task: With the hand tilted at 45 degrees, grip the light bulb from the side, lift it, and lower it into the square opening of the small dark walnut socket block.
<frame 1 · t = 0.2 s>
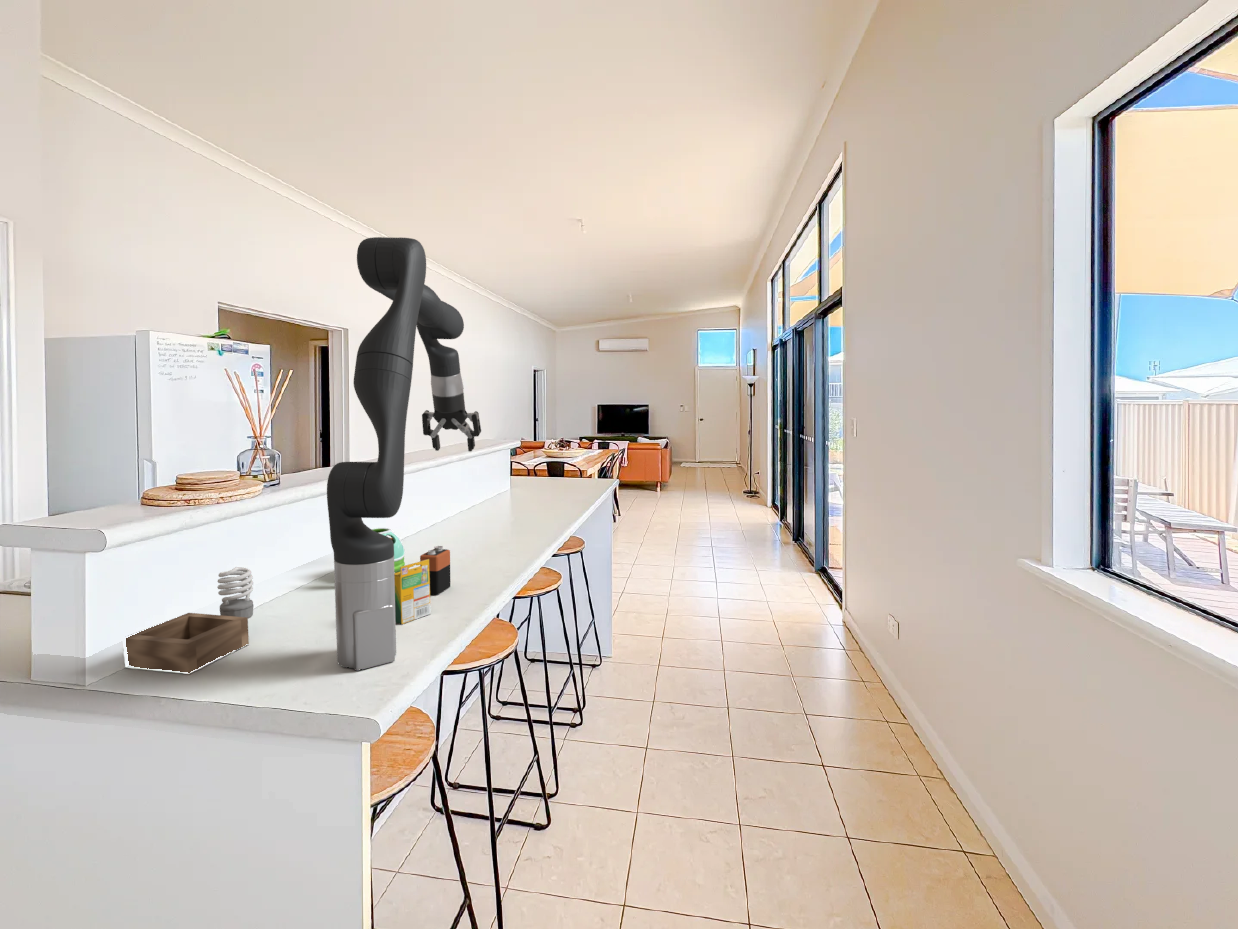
hand: (454, 449, 153), 31 cm above the countertop, tool tilted 20°, fingers open, 8 cm apart
socket block: (189, 656, 100), on the countertop
light bulb: (237, 631, 111), on the countertop
battery: (435, 591, 137), on the countertop
turtle holder: (374, 580, 145), on the countertop
crayon box: (411, 619, 119), on the countertop
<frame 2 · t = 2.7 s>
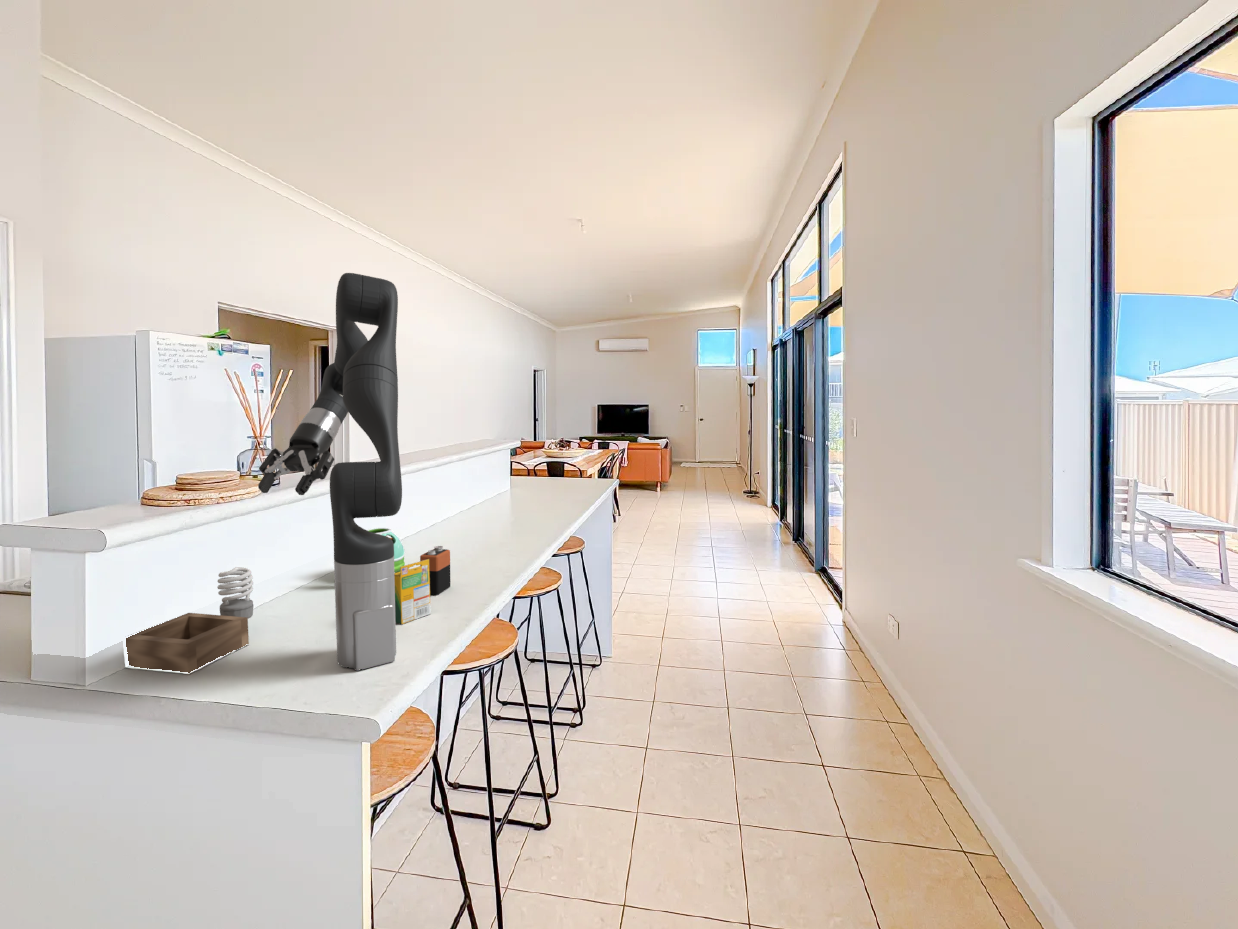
hand: (280, 491, 121), 25 cm above the countertop, tool tilted 45°, fingers open, 8 cm apart
nothing on the countertop moved.
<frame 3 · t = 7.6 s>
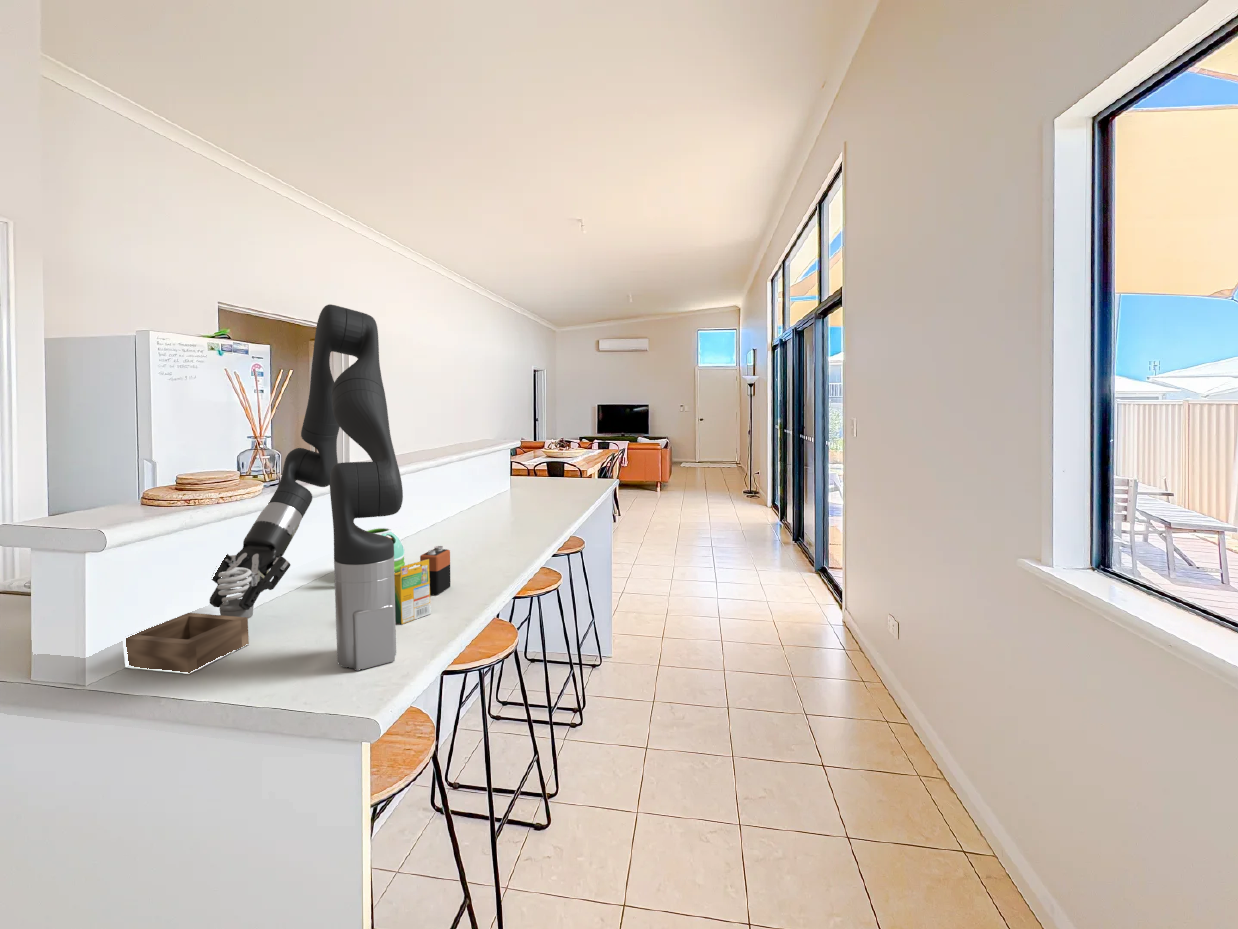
hand: (228, 606, 109), 5 cm above the countertop, tool tilted 45°, fingers closed on light bulb, 5 cm apart
light bulb: (237, 631, 111), on the countertop, touching gripper
everything else where it was.
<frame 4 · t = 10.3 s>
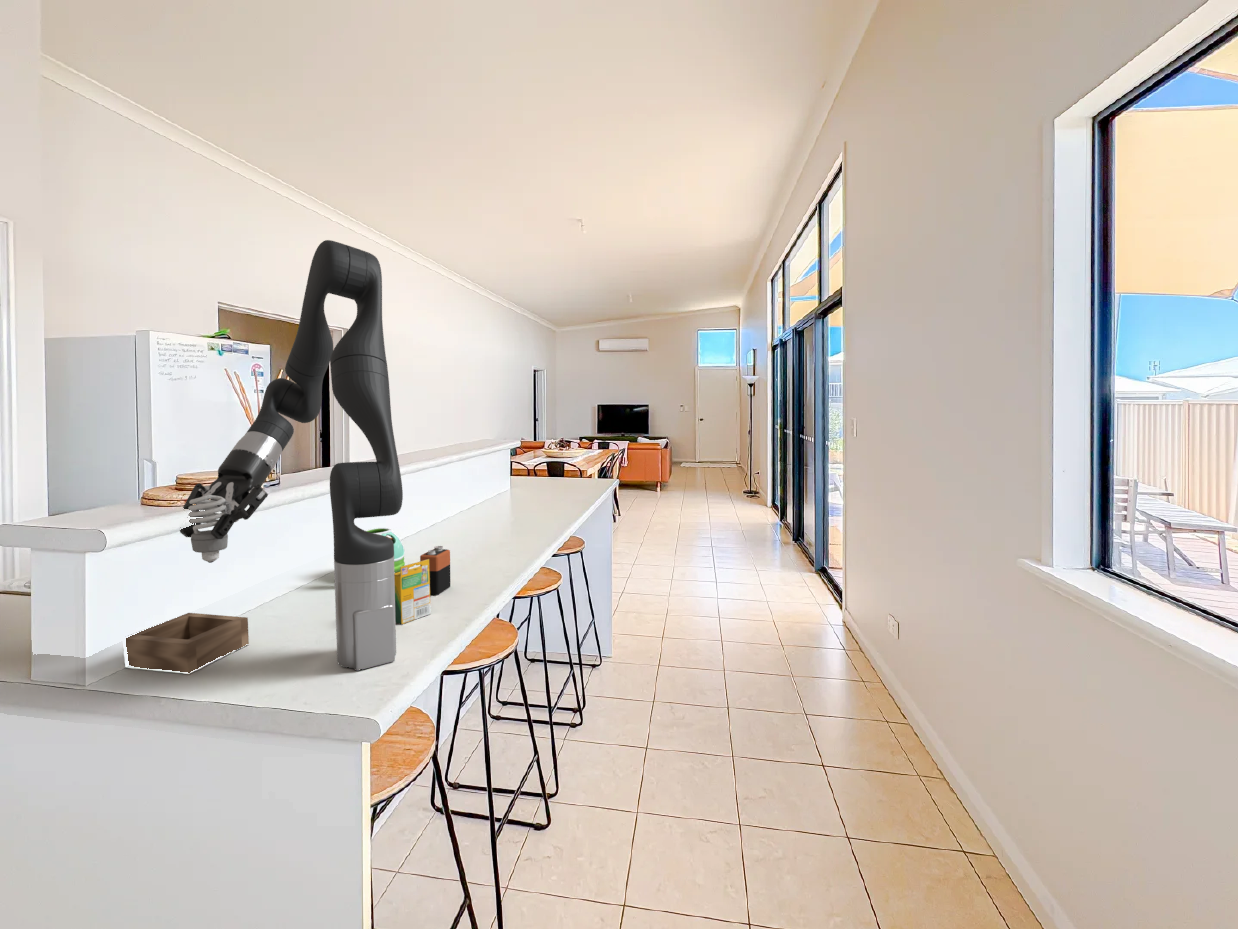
hand: (200, 535, 102), 20 cm above the countertop, tool tilted 45°, fingers closed on light bulb, 5 cm apart
light bulb: (211, 563, 104), point 14 cm above the countertop, touching gripper
everything else where it was.
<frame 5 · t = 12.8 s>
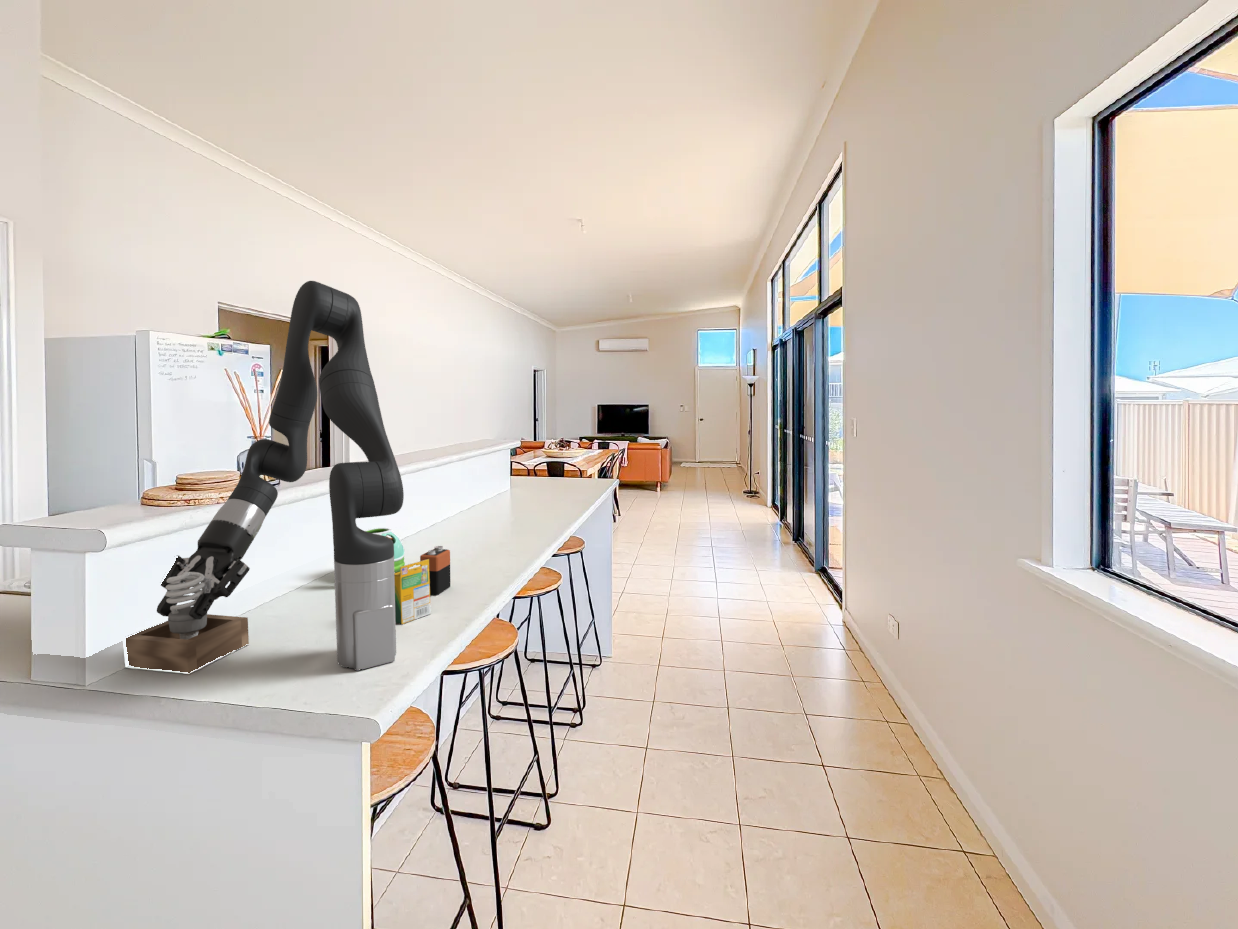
hand: (178, 615, 98), 8 cm above the countertop, tool tilted 45°, fingers closed on light bulb, 5 cm apart
light bulb: (189, 643, 100), point 2 cm above the countertop, touching gripper
everything else where it was.
when the fingers open (7 cm above the countertop, at t = 13.5 s): light bulb drops 1 cm, resting in socket block.
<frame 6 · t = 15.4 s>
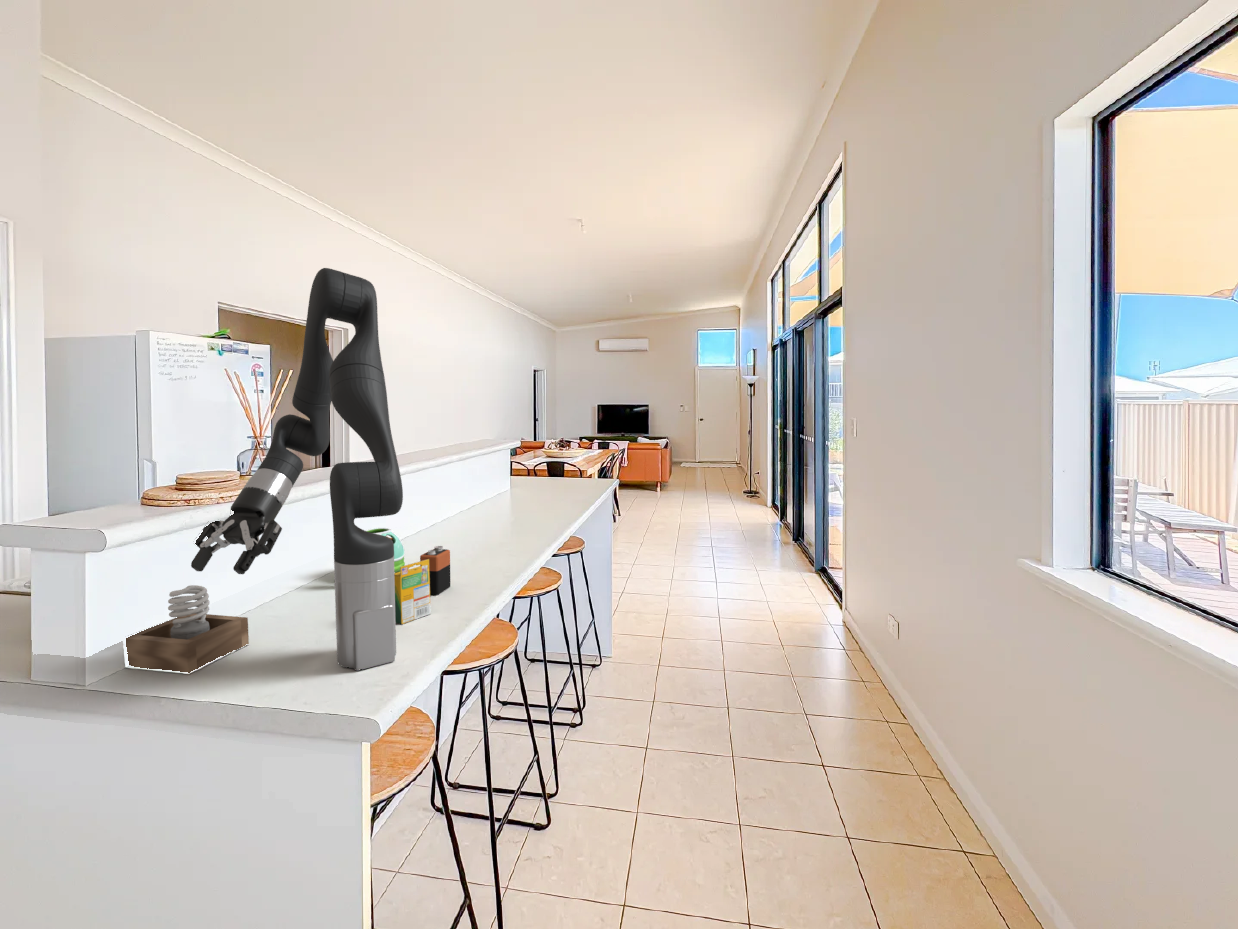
hand: (216, 570, 105), 13 cm above the countertop, tool tilted 45°, fingers open, 8 cm apart
light bulb: (191, 656, 100), resting in socket block
everything else where it was.
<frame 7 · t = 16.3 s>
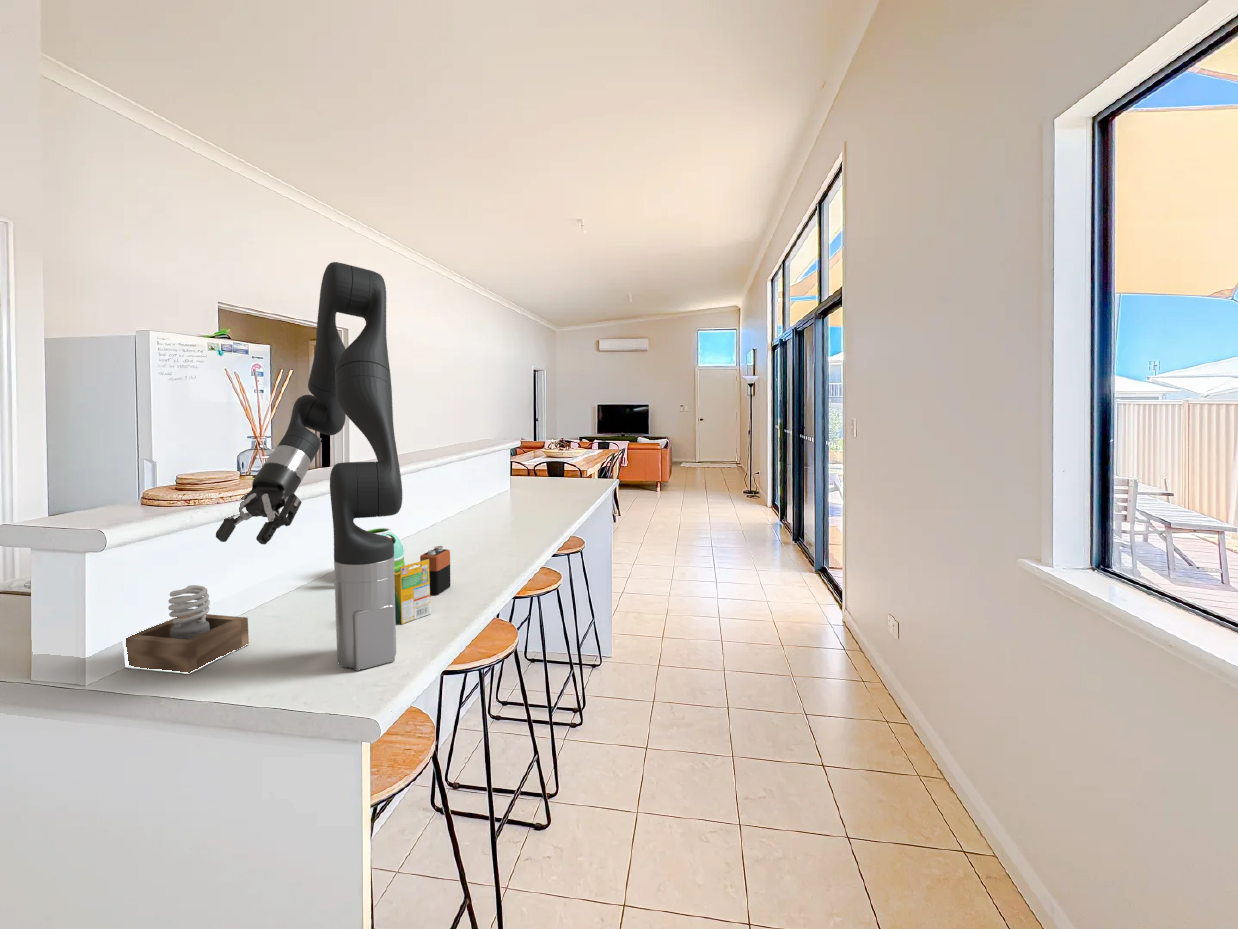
hand: (240, 540, 110), 17 cm above the countertop, tool tilted 45°, fingers open, 8 cm apart
nothing on the countertop moved.
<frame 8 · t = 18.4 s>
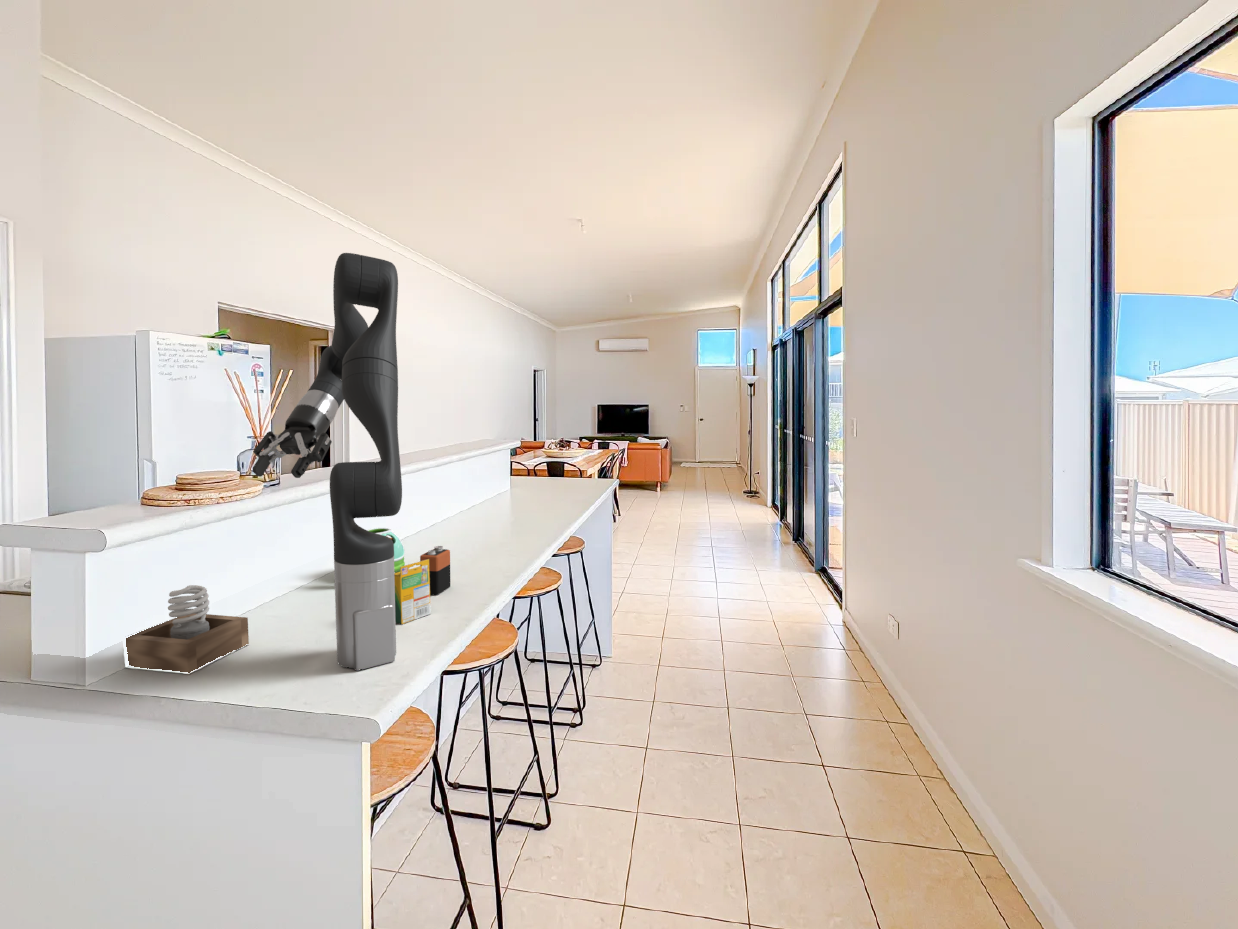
hand: (275, 474, 117), 29 cm above the countertop, tool tilted 45°, fingers open, 8 cm apart
nothing on the countertop moved.
at the end: light bulb 0.3 cm off-centre on the socket block, point 0.0 cm above the socket block's base; light bulb tilted 0°; the gripper is holding nothing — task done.
